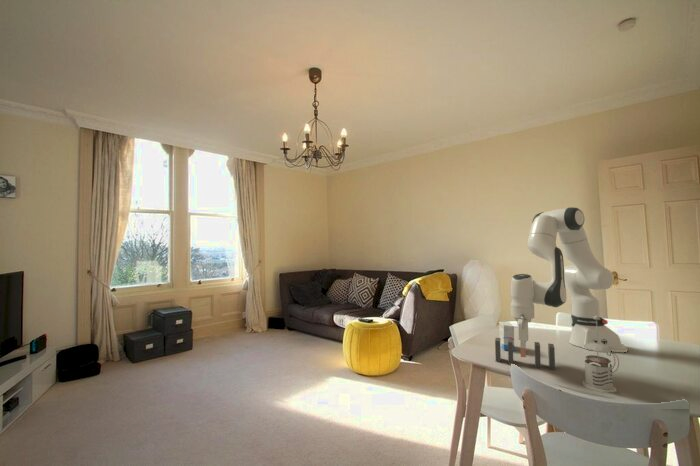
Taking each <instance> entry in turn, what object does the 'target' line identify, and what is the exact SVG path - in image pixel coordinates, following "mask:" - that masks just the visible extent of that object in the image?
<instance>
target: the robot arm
mask: <svg viewBox="0 0 700 466" xmlns="http://www.w3.org/2000/svg"><path fill="white" fill-rule="evenodd" d="M584 223H585V215H584V212H583V211H582V209H580V208H578V207H575V206H574V207H567V208H563V207H562V208H555V209H552V210H547V211H542V212H539V213H537V214H535V215H534V216H533V219H532V224H531V225H530V229H529V233H528V238H527V249H528V250H529V251H530V252H531V253H532V254H533V255H535V256H536V257H539V258H540V259H543V260H546V261H548V262H549V263H550V277H551V280H550V281H547V282H546V281H536V280H533V277H532V276H531V274H528V273H527V274H526V273H519V274H518V273H517V274H514V275H513V276H512V277H511V280H510V290H509V291H510V297H511V302H510V316H511V317H512V318H513V319H514V321H515V322H516V323H517V324H516V325H517V338H518V340H519V341H520V342H521V343H520V349H521V348H527V347H526V344H527V342H528V341H529V323H531V322H532V320H533V319H535V304H537V305H543V306H544V305H545V306H548V307H552V308H559V307H561V306H562V305H564V304H565V303H566V301H567V291H568V293H569V294H568V295H569V298H570V301H571V315H570V324H571V332H570V336H569V337H570V338H569V340H568V342H569V343H570V344H571V345H573V346H576V347H578V348H583V349H586V348H585V347H584V345H585V344H588V343H591V342H594V343H596V342H597V332H598V343H601V344H604V345H606V346H608V347H609V348H611V349H612V352H613V353H624V352H626V353H628V352H627V351H629V350H628V348H627V346H626V345H625V344H622V342H621V338H620V336H619V335H618V333H616V332H615V331H613V330H612V329H611V328H609V327H608V326H606V325H607V324H608V323H609V321H608V320H607V319H605V318H603V317H601V316H600V302H599V300H598V298H597V297H595V296H594V295H593V294H592V292H591V291H590V290H600V291H601V290H609V289H610V288H612V286H613V284H614V283H615V282H614V281H615V276H614V274H613V272H612V271H611V270H610V269H608V268H607V267H605V266H604V265H602V264H601V263H600V262H599V261H598V259H597V258H596V256H595V255H594V253H593V251H592V249H591V247H590V246H591V245H590V243H589V239H588V236H587V233H586V231H585V228H584V227H583V225H584ZM557 235H558V238H559V242H560V245H561V247H562V248H561V249H562V250H561V249H560V248H559V247H558V246H557ZM562 251H563V252H562ZM564 257H565V258H566V259H567V260H568V261H570V262H571V263H572V264H569V265H564V262H565V261H564ZM594 316H598V317H600V320H597V324H596V319H593V317H594ZM586 350H588V349H586ZM588 351H589V350H588Z"/></svg>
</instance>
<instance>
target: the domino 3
mask: <svg viewBox="0 0 700 466" xmlns="http://www.w3.org/2000/svg"><path fill="white" fill-rule="evenodd" d="M520 344H521V342H520ZM526 348H527V347H526ZM526 348H521V347H520V357H521V358H527V356H526V355H527V354H526V351H527V350H526Z"/></svg>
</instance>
